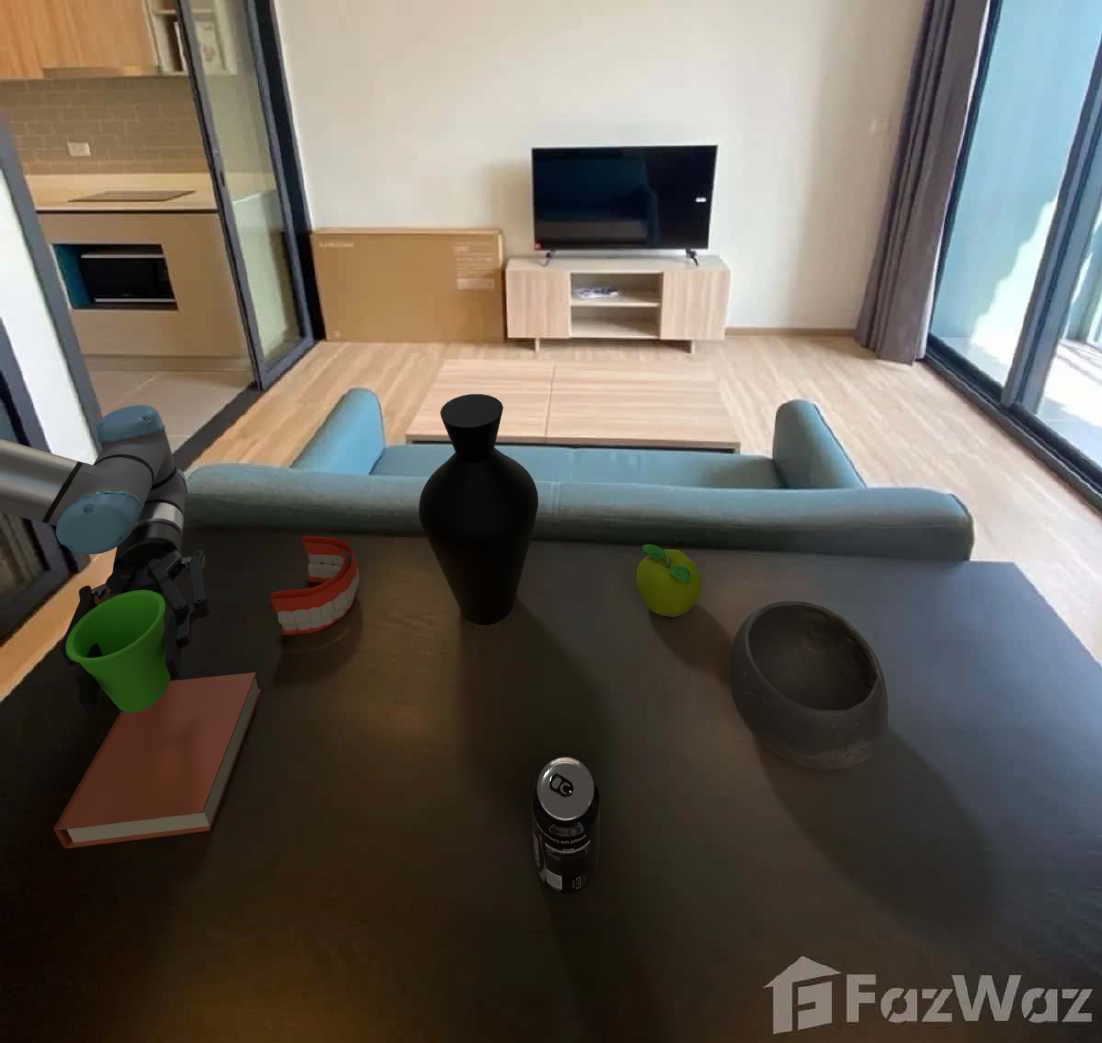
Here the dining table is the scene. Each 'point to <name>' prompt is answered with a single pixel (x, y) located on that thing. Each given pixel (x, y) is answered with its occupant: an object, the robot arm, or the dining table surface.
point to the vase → (479, 511)
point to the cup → (125, 648)
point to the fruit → (667, 581)
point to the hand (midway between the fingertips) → (130, 686)
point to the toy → (319, 588)
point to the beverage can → (566, 825)
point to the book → (163, 764)
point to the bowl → (808, 685)
